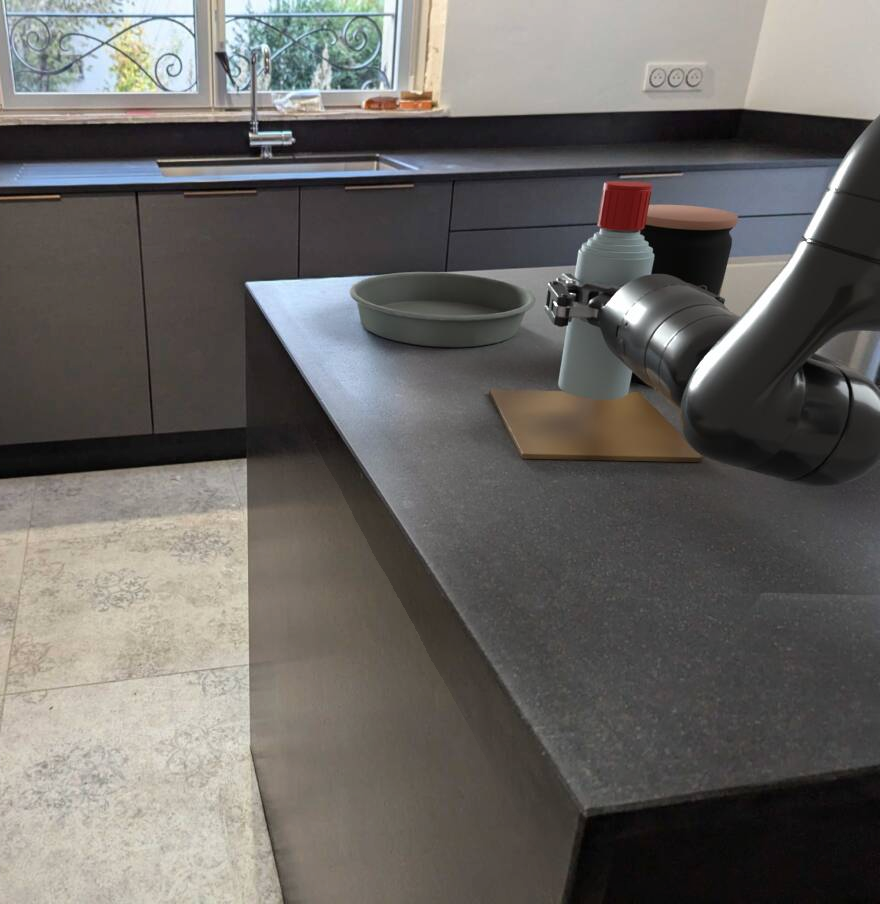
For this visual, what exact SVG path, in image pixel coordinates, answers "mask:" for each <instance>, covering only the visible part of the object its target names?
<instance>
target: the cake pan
mask: <svg viewBox="0 0 880 904" xmlns="http://www.w3.org/2000/svg"><path fill="white" fill-rule="evenodd" d="M348 293H349V295H350V297H351V298H352V300H353V301H354V302H356V304H357V305H356V306H357V310H358V315H359V316H358V317H359V322H360V324H361V325H362V327H363V328H364V329H365V330H367V331H368V332H370V333H372V334H374V335H376V336H379V337H381V338H385V339H387V340H391V341H395V342H399V343H403V344H409V345H416V346H423V347H434V348H472V347H482V346H489V345H493V344H497V343H501V342H504V341H507V340H509V339H511V338H513V337H514V336H515V335H516V334H517V333H518V332H519V330H520V327H521V325H522V322H523V320H524V316H525V314H526V312H528V311H530V310H531V309H532V308H534V306H535V304H536V301H537V299H536V295H534V293H532V292H531V291H530V290H528V289H526V288H525V287H523V286H521V285H519V284H516V283H513V282H510V281H507V280H502V279H497V278H492V277H489V276H488V277H487V276H481V275H476V274H475V275H474V274H465V273H457V272H441V271H440V272H439V271H438V272H437V271H411V272H407V271H406V272H396V273H395V272H394V273H387V274H379V275H374V276H371V277H370V276H369V277H367V278H364V279H361V280H358V281H357V282H355V283H354V284H353V285H351V287H350V288H349V292H348Z"/></svg>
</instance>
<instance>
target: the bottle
mask: <svg viewBox="0 0 880 904" xmlns="http://www.w3.org/2000/svg"><path fill="white" fill-rule="evenodd" d="M648 245H649V243H648V242H647V241H645V240H644V236H643V235H640V230H635V231H622V230H611V229H605V228H601V227H599V231H597V232H594V234H593V236H591V237H588V239H587V241H585V242H583V243H582V244H581V247H580V248H579V249H578V252H577V259H576V266H575V272H574V277H575V278H577V279H578V280H579V281H580V282H583V283H586V282H592V281H601V282H604V283H608V284H612V285H615V286H616V285H626V284H627V283H629V282H630V281H632V280H634V279H636V278H639V277H642V276H645V275H650V274H651V272H652V266H653V261H654V254H653V253H652V252H653V248H651V247H649V246H648ZM602 293H603V292H599V295H600V294H602ZM581 300H582V292H580V293H579V300H578V303H580V304H581ZM562 351H563V352H562V357H561V364H560V369H559V376H558V384H557V385H558V388H559V389H561V391H565V392H567V393H569V394H572V395H575V396H579V397H583V398H588V399H597V400H612V399H619V398H622V397H625V396H626V395H627V394H628V392H630V386H631V382H632V381H631V376H632V371H631V370H630V369H629V368H628V367H627V366H626V365H625V364H624V363H623V362H622V361H621V360H620V359H618V358H617V357H616V356H615V355H614V354H613V353H612V352H611V351H610V349H609V348H608V346H607V344H606V342H605V340H604V337H603V335H602V332H601V329H600V328H599V327H597V326H594V325H591V324H589V323H587V322H584V321H581V320H580V318H573V317H572V321H571V322H568V326H566V330H565V337H564V343H563V349H562Z"/></svg>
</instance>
